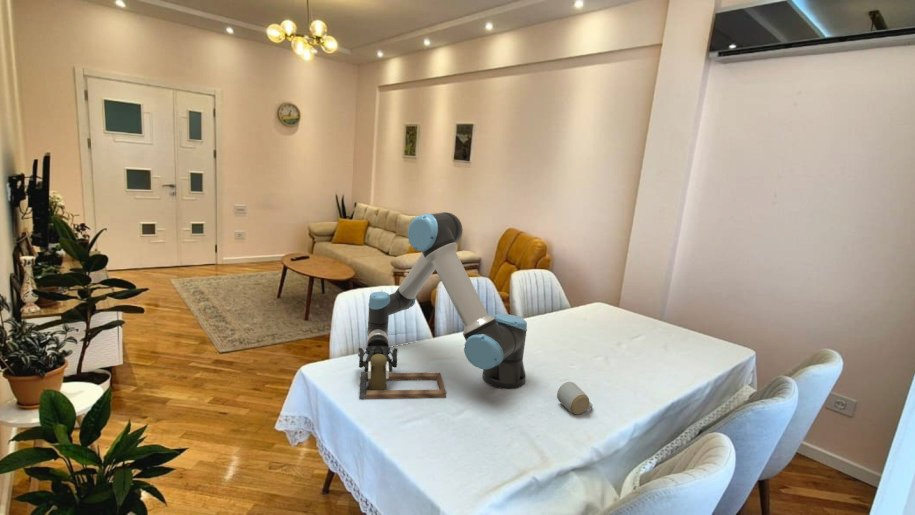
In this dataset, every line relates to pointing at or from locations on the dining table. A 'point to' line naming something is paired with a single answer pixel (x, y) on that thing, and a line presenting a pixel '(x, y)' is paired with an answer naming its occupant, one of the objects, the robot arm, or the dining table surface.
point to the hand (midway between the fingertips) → (378, 374)
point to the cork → (378, 372)
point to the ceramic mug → (573, 398)
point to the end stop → (363, 385)
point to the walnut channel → (409, 393)
